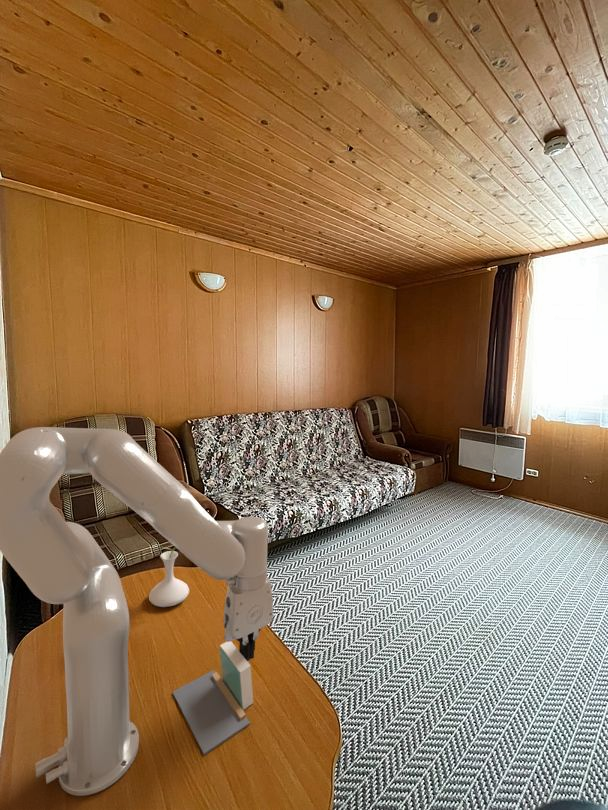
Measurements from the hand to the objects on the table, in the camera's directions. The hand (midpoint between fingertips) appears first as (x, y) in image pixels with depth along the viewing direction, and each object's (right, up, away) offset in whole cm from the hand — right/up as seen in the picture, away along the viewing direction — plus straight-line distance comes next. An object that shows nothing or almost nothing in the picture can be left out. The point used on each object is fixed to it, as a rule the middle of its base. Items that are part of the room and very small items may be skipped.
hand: (246, 655), depth 81 cm
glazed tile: (-2, -7, -1) cm, 8 cm away
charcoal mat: (-7, -8, -5) cm, 11 cm away
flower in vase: (-27, -3, +30) cm, 41 cm away
